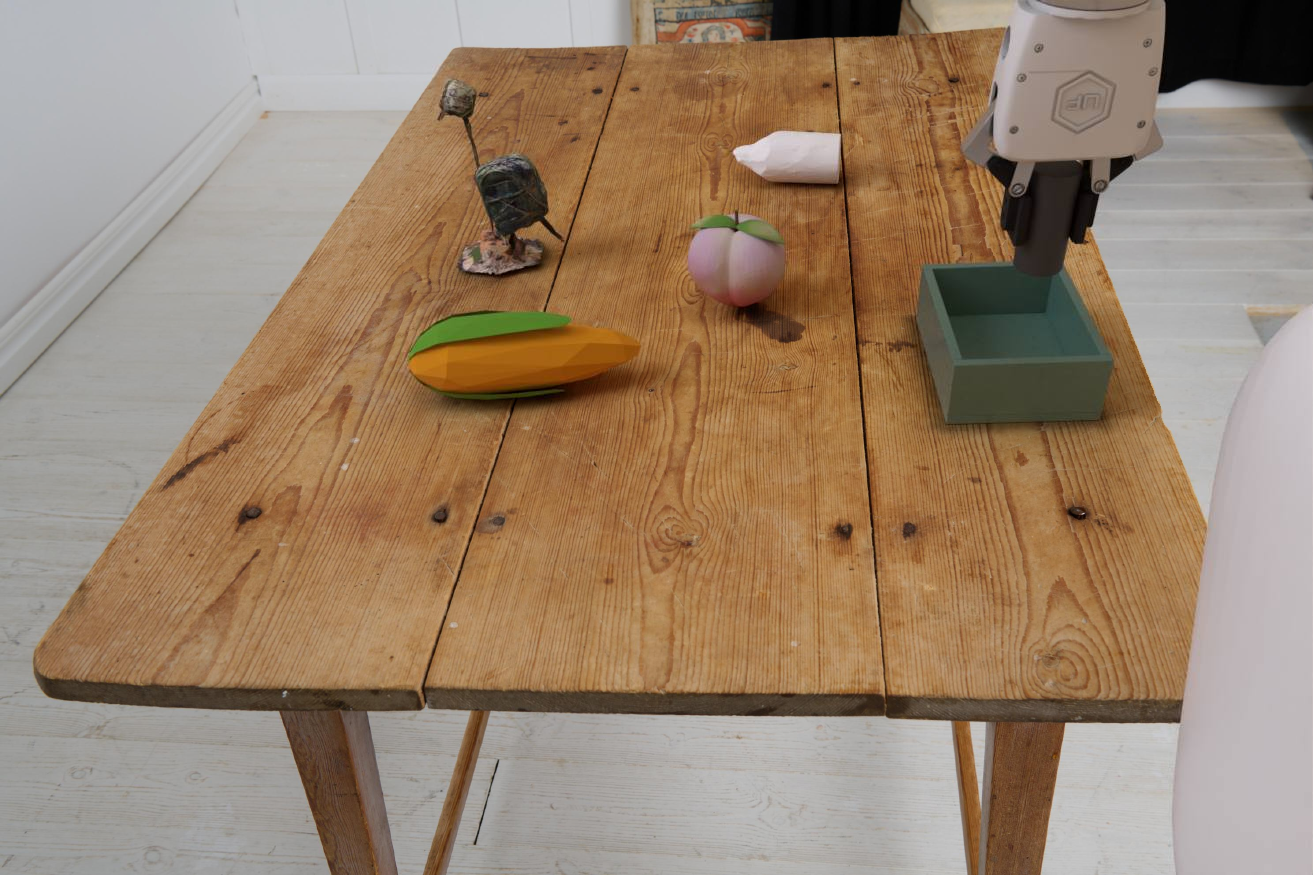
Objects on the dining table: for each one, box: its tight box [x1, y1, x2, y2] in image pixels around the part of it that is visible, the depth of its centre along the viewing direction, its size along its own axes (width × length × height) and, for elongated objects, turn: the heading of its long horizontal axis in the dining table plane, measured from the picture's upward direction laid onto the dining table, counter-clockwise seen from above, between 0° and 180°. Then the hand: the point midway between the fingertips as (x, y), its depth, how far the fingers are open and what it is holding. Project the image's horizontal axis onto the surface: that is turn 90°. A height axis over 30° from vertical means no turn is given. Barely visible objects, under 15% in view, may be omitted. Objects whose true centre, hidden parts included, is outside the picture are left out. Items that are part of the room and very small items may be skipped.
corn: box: [407, 309, 642, 401], centre depth 91 cm, size 7×8×20 cm
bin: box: [915, 260, 1115, 425], centre depth 90 cm, size 16×12×6 cm
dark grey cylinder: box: [1012, 160, 1083, 277], centre depth 78 cm, size 4×4×8 cm
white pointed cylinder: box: [732, 130, 842, 185], centre depth 120 cm, size 6×12×6 cm, turn 79°
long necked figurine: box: [436, 77, 566, 276], centre depth 105 cm, size 8×11×20 cm
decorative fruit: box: [686, 209, 787, 308], centre depth 99 cm, size 9×8×10 cm
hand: (1043, 234), depth 79 cm, fingers closed on dark grey cylinder, 3 cm apart
